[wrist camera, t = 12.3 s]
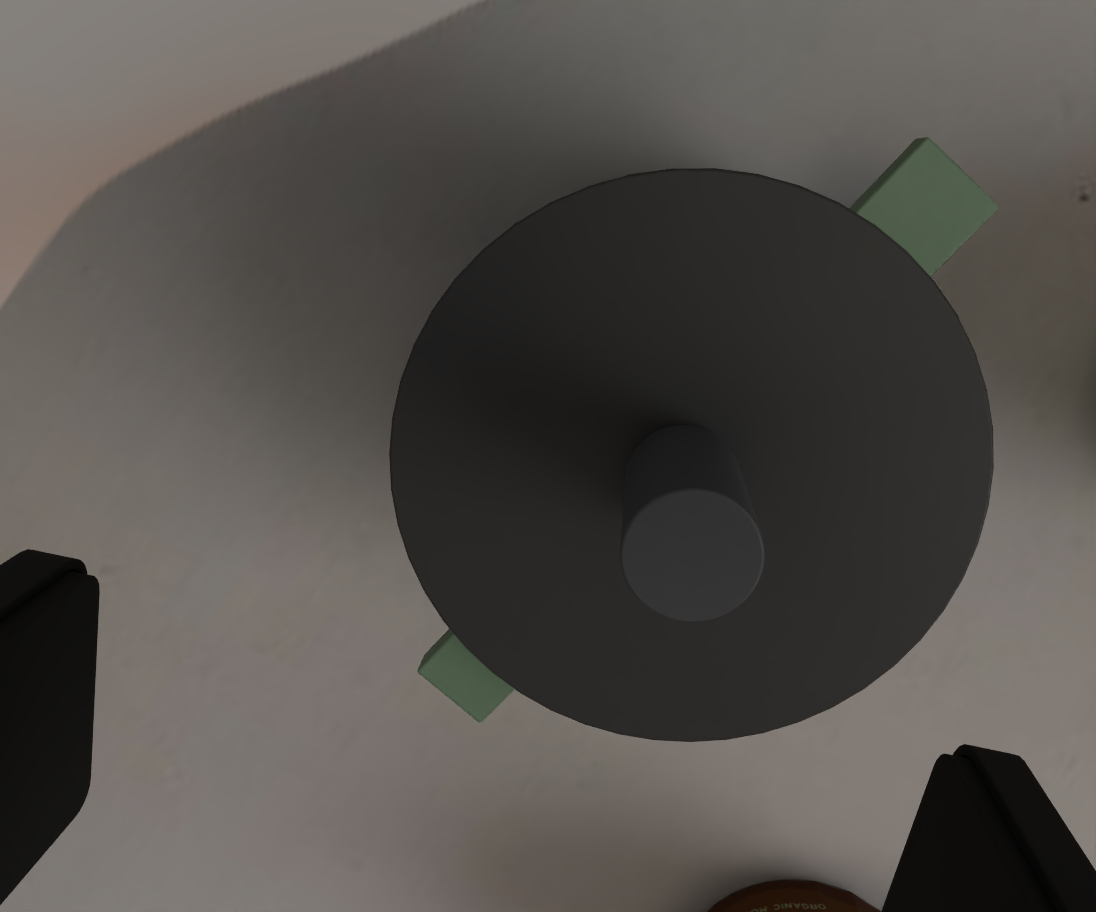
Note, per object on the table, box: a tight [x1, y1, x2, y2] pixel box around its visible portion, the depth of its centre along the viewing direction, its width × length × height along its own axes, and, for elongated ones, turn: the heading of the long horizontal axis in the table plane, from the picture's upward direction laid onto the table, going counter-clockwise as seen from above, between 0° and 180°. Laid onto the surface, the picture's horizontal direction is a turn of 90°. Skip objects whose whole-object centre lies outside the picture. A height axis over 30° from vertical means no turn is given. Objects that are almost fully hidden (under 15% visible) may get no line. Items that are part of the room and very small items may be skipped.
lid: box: [389, 168, 993, 742], centre depth 22 cm, size 15×15×6 cm
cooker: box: [418, 137, 999, 722], centre depth 29 cm, size 14×19×10 cm
